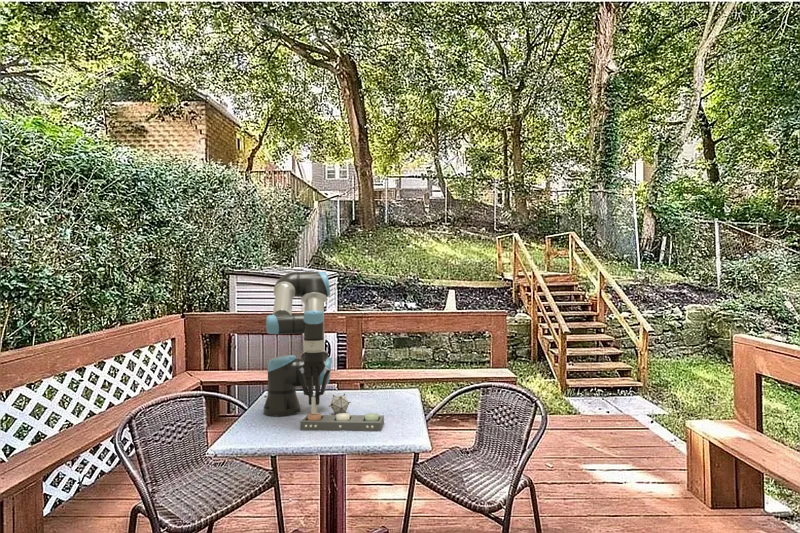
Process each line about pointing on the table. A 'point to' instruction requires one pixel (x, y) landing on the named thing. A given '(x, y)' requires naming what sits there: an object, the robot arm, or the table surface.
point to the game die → (339, 404)
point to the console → (342, 423)
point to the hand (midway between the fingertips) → (314, 413)
